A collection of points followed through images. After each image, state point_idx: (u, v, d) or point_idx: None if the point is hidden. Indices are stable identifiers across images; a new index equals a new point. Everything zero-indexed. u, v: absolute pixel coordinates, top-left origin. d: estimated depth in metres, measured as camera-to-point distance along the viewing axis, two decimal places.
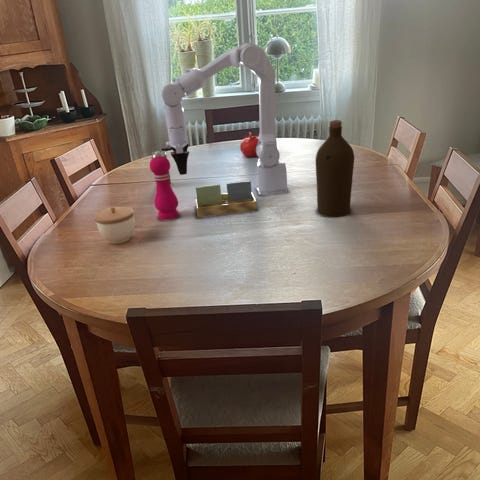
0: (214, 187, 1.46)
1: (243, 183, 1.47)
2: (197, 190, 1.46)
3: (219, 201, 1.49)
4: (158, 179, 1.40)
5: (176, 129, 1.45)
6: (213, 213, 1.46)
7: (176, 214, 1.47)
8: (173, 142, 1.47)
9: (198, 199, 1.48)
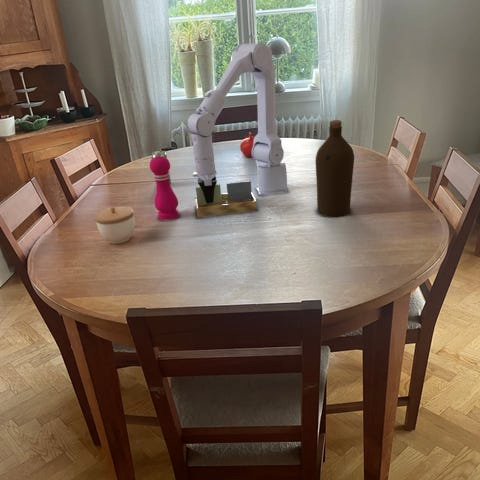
0: None
1: (243, 183, 1.47)
2: (197, 190, 1.46)
3: (219, 201, 1.49)
4: (158, 179, 1.40)
5: (204, 160, 1.39)
6: (213, 213, 1.46)
7: (176, 214, 1.47)
8: (200, 174, 1.42)
9: (198, 199, 1.48)
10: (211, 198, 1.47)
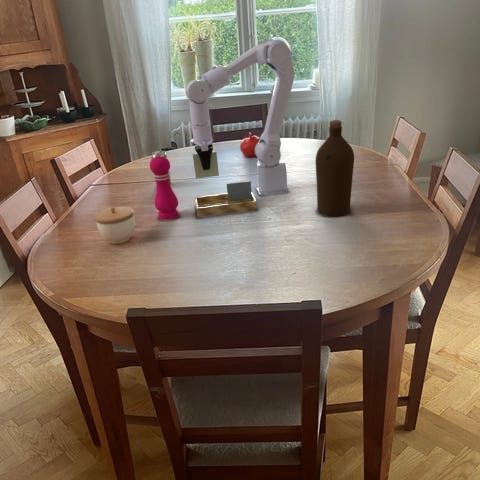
0: (211, 154, 1.50)
1: (243, 183, 1.47)
2: (194, 157, 1.50)
3: (215, 168, 1.53)
4: (158, 179, 1.40)
5: (201, 126, 1.44)
6: (213, 213, 1.46)
7: (176, 214, 1.47)
8: (197, 140, 1.46)
9: (195, 166, 1.52)
10: (208, 165, 1.51)
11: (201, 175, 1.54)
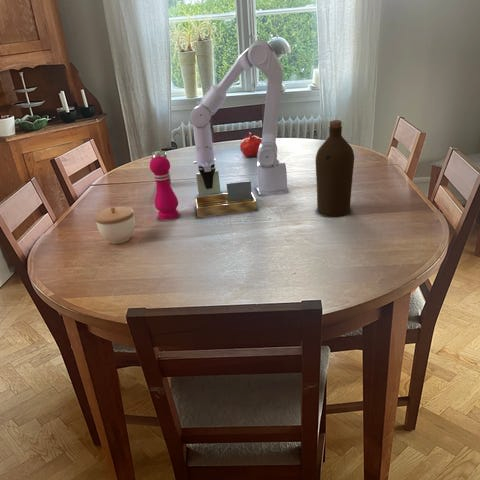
0: None
1: (243, 183, 1.47)
2: (197, 176, 1.60)
3: (217, 186, 1.63)
4: (158, 179, 1.40)
5: (204, 149, 1.53)
6: (213, 213, 1.46)
7: (176, 214, 1.47)
8: (200, 161, 1.56)
9: (198, 185, 1.62)
10: (210, 184, 1.61)
11: (204, 193, 1.63)
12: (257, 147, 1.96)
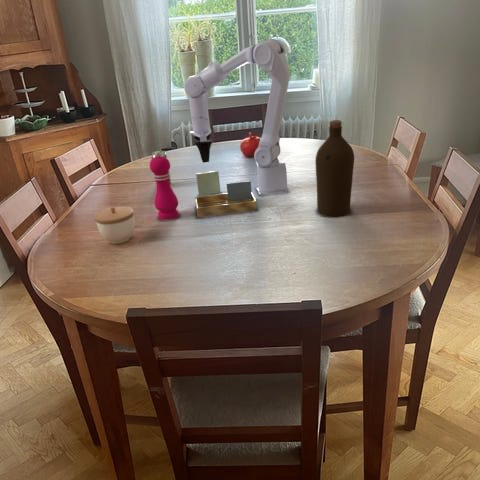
0: (213, 173, 1.60)
1: (243, 183, 1.47)
2: (197, 176, 1.60)
3: (217, 186, 1.63)
4: (158, 179, 1.40)
5: (200, 119, 1.54)
6: (213, 213, 1.46)
7: (176, 214, 1.47)
8: (196, 132, 1.56)
9: (198, 185, 1.62)
10: (207, 158, 1.59)
11: (204, 193, 1.63)
12: (257, 147, 1.96)
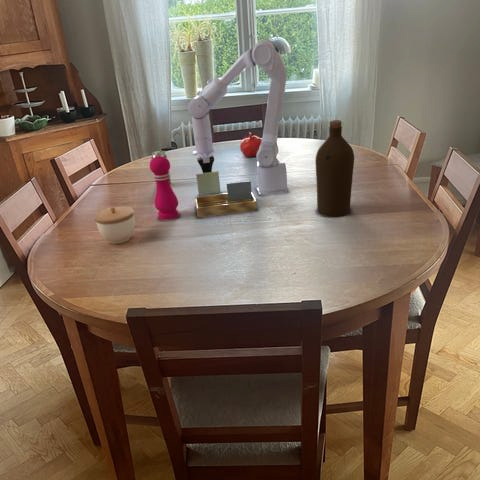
0: (213, 174, 1.60)
1: (243, 183, 1.47)
2: (197, 177, 1.60)
3: (217, 187, 1.63)
4: (158, 179, 1.40)
5: (203, 140, 1.53)
6: (213, 213, 1.46)
7: (176, 214, 1.47)
8: (199, 152, 1.55)
9: (198, 185, 1.61)
10: None
11: (204, 193, 1.63)
12: (257, 147, 1.96)
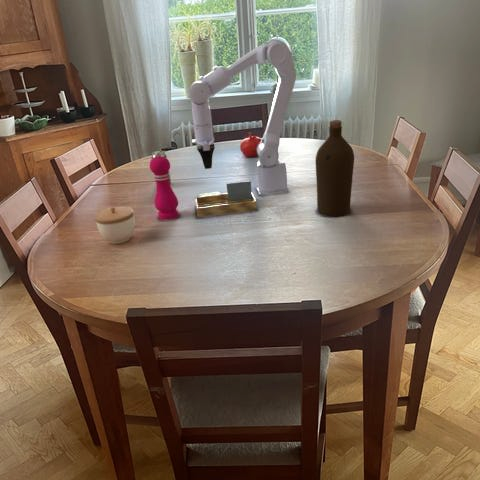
0: None
1: (243, 183, 1.47)
2: None
3: None
4: (158, 179, 1.40)
5: (203, 127, 1.47)
6: (213, 213, 1.46)
7: (176, 214, 1.47)
8: (199, 140, 1.50)
9: None
10: (209, 164, 1.55)
11: None
12: None
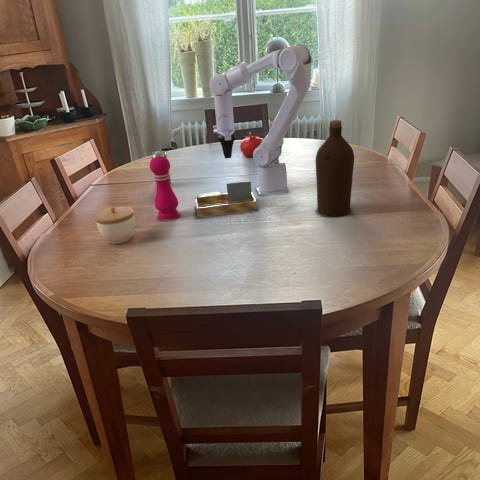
0: None
1: (243, 183, 1.47)
2: None
3: None
4: (158, 179, 1.40)
5: (225, 117, 1.53)
6: (213, 213, 1.46)
7: (176, 214, 1.47)
8: (220, 130, 1.55)
9: None
10: (229, 154, 1.61)
11: None
12: None
